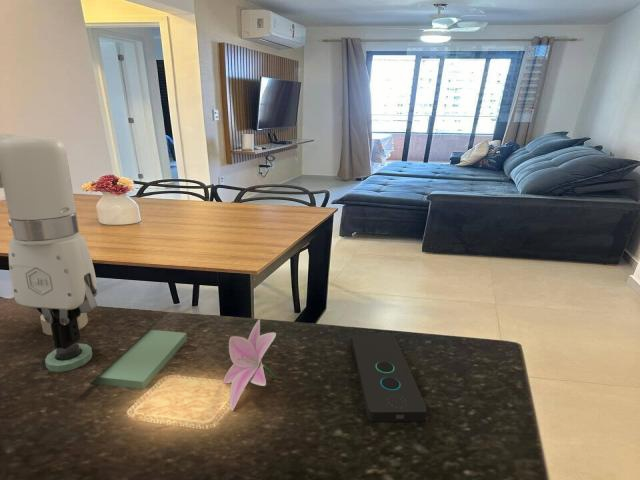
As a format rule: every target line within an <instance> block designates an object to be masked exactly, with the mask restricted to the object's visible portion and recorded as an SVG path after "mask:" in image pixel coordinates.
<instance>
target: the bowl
mask: <svg viewBox="0 0 640 480" xmlns="http://www.w3.org/2000/svg"><path fill="white" fill-rule="evenodd" d="M39 319H40V325H41V329H42V333H43V334H45V335H47V336H53V334H52V329H51V324H48V323H46V321H45V319H44V316H43V315H42V314H41V315H40V316H39ZM77 321H78V327H79V330H82V329H83V328H84V327H85V326H87V324H88V322H89V321H88V312H87V313H81V315H80V316H79V317H78V318H77Z"/></svg>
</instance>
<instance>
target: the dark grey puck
mask: <svg viewBox="0 0 640 480" xmlns="http://www.w3.org/2000/svg"><path fill="white" fill-rule="evenodd" d="M78 344H79V343H78ZM78 344H77V342H75V343H74V344H73V345H71V346H70V347H68V348H67V349H62V347H61V348H56V349H57V350H56V349H55V350H56V354H57V359H58V360H59V361H65V360H70V359H73V358H75V357H78V356H79V355H80V347H79V345H78Z"/></svg>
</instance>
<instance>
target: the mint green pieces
mask: <svg viewBox="0 0 640 480" xmlns="http://www.w3.org/2000/svg"><path fill="white" fill-rule="evenodd" d="M187 340H188V333H187V332H179V331H169V330H160V329H159V330H158V329H148V330H147V331H146V332H145V333H144V334H143V335H141V336H140V337H139V338H138V339H137V340H136V341H135V342H134V343H133V344H131V346H129V347H128V348H127V349H126V350H125V351H124V352H123V353H121V355H119V356H118V357H117V359H115V360H114V361H113V362H112V363H111V364H110V365H109V366H107V368H105V369H104V370H103V371H102V372H101V373H100V374H99V375H98V376H97V377H96V378H94V380H92V381H91V382H90V383H89V384H90V385H91V384H92V385H99V386H100V385H101V386H109V387H118V388H127V389H137V390H145V389H146V388H147V387H148V386H149V384H150V383H151V382H152V381H153V380H154V379H155V378H156V376H157V375H158V374H159V373H160V372H161V371H162V369H163V368H164V367H165V366H166V365H167V363H168V362H169V361H170V360H171V359H172V358H173V356H174V355H176V353H177V352H178V351H179V349H180V348H181V347H183V345H184V344H185V343H186V342H187ZM76 344H78V345H79V347H80V355H79V356H78V357H75V358H73V359H70V360H65V361H59V360H58V359H57V354H56V350H57V349H58V348H55V349H54V350H52V351H51V352H50V353H48V354H47V355H46V357H45V359H44V364H45V368H46V369H47V370H48V371H50V372H55V373H63V372H67V371H68V372H69V371H73V370H75V369H78V368H80V367H82V366H84V365H86V364H87V363H88V362H89V361H90V360H91V359H92V357H93V349H92V347H91V346H90V345H89V344H86V343H79V342H78V343H77V342H76Z"/></svg>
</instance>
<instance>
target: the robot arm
mask: <svg viewBox="0 0 640 480" xmlns="http://www.w3.org/2000/svg"><path fill="white" fill-rule="evenodd" d="M0 189H3V193H4V198H5V202H6V207H7V212H8V216H9V219H8V221H7V223H8V226H9V227H10V228H11V231H12V236H13V237H11V238H10V239H9V243H8V268H9V269H8V270H9V278H10V284H11V290H12V294H13V299H14V301H15V302H16V304H18V305H20V306H22V307H26V308H30V309H33V310H35V311H38V312H39V313H40V314H41V315H43V316H44V319H45V321H46V323H48V324H51V329H52V334H53V335H52V339H53V344H54V348H55V349H58V348H61V347H62V349H67V348H68V347H70V346H71V345H73V344H74V343H77V342H78V341H79V340H80V339H81V333H80V329H79V327H78V321H77V318H78V317H79V316H80V315H81V313H87V314H88V313H91V312H92V311H94V310H95V309H97V308H98V305H97V301H96V299H95V298H96V296H97V295H98V283H97V277H96V272H95V268H94V264H93V263H94V262H93V259H92V256H91V253H90V250H89V246H88V244H87V242H86V238H85V237H84V235H83V234H80V229H79V228H80V227H79V221H78V216H77V209H76V203H75V198H74V197H75V196H74V191H73V190H74V189H73V185H72V179H71V172H70V166H69V160H68V152H67V149H66V146H65V144H64V142H63V141H62V140H60V139H59V138H57V137H54V136H48V135H15V134H11V133H3V132H2V133H1V132H0Z"/></svg>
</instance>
